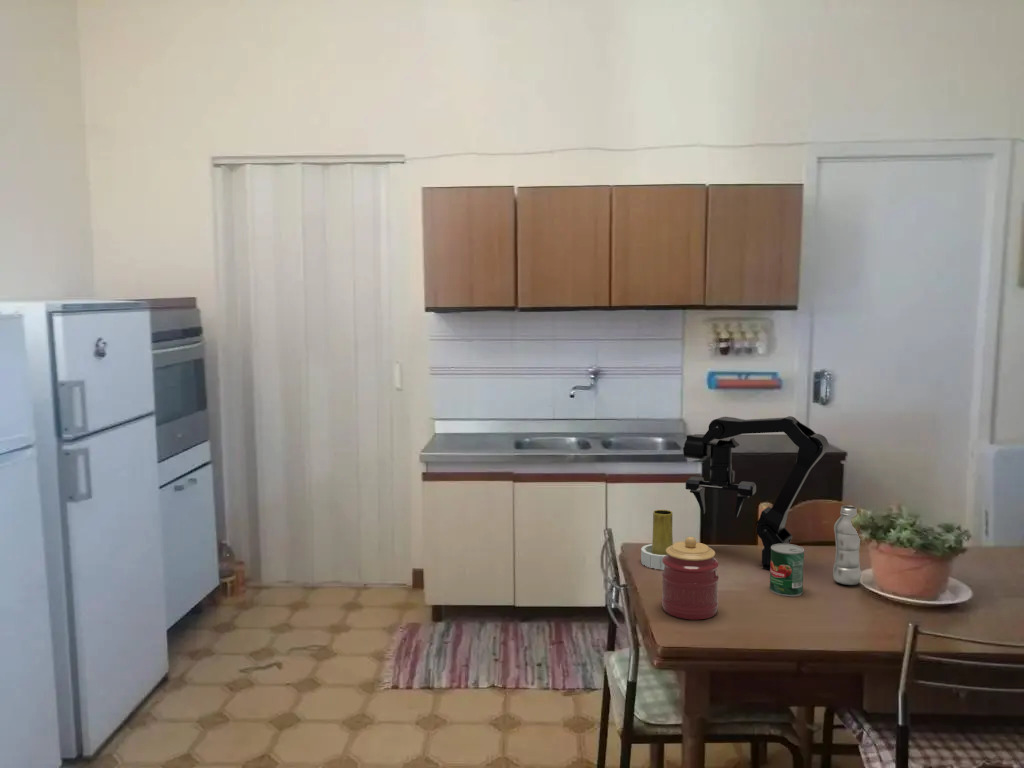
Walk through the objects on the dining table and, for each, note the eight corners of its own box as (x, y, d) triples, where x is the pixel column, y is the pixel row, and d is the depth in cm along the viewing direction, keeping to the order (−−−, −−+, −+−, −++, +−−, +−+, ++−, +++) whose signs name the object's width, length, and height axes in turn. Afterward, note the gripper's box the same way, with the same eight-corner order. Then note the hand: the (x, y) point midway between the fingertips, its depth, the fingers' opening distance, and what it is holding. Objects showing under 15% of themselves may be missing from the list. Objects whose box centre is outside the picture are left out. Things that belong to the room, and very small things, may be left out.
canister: (677, 623, 172) (678, 547, 170) (652, 602, 184) (652, 531, 183) (728, 617, 175) (730, 542, 174) (700, 596, 188) (701, 527, 186)
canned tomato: (765, 592, 191) (766, 549, 190) (775, 582, 197) (776, 541, 196) (797, 599, 186) (798, 555, 185) (807, 589, 192) (808, 547, 191)
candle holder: (686, 560, 215) (686, 547, 214) (675, 572, 205) (675, 558, 205) (648, 554, 220) (648, 541, 220) (636, 566, 210) (636, 552, 210)
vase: (672, 566, 209) (673, 515, 207) (650, 564, 210) (650, 514, 209) (674, 559, 215) (674, 509, 213) (652, 557, 216) (652, 508, 215)
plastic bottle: (865, 588, 193) (868, 510, 191) (838, 588, 193) (840, 510, 191) (854, 579, 199) (857, 504, 197) (828, 579, 199) (830, 504, 197)
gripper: (760, 459, 218) (759, 512, 219) (695, 454, 227) (694, 505, 228) (752, 466, 208) (751, 522, 210) (685, 460, 217) (684, 514, 218)
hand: (719, 515), depth 217 cm, fingers open, 9 cm apart
